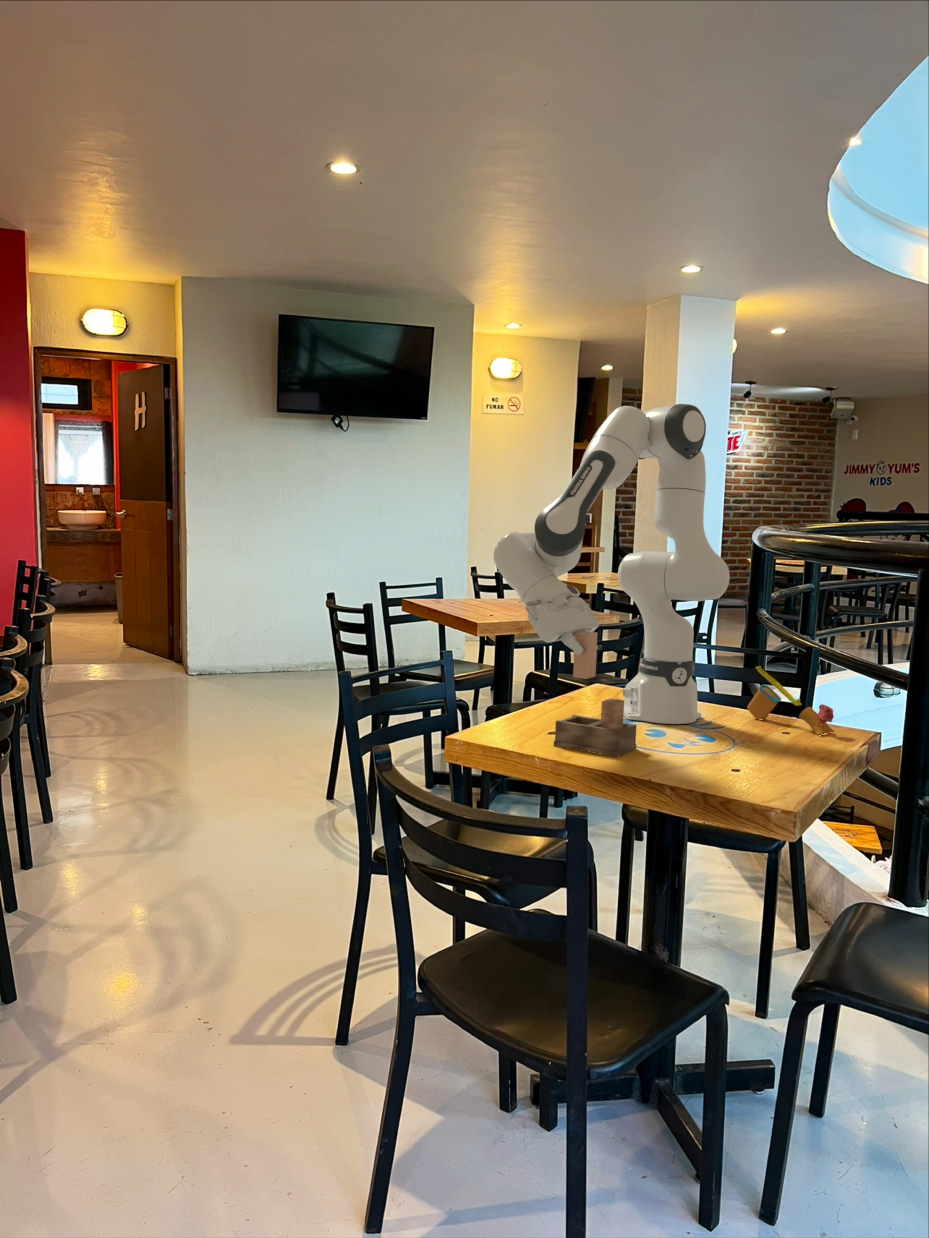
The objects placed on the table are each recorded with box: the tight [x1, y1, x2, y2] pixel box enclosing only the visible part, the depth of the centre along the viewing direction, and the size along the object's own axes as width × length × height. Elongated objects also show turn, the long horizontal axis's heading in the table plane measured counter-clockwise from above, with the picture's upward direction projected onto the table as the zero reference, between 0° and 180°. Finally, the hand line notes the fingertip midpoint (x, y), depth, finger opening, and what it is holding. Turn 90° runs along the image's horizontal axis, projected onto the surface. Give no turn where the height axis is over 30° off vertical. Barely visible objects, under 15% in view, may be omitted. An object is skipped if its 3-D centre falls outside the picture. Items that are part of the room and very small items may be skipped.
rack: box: [553, 698, 637, 758], centre depth 183 cm, size 14×9×10 cm, turn 56°
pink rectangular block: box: [572, 631, 598, 680], centre depth 183 cm, size 3×4×9 cm
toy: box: [747, 665, 835, 736], centre depth 209 cm, size 5×22×15 cm
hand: (588, 651), depth 183 cm, fingers closed on pink rectangular block, 4 cm apart
